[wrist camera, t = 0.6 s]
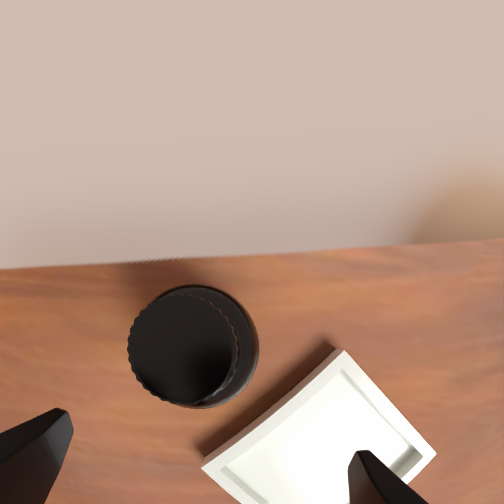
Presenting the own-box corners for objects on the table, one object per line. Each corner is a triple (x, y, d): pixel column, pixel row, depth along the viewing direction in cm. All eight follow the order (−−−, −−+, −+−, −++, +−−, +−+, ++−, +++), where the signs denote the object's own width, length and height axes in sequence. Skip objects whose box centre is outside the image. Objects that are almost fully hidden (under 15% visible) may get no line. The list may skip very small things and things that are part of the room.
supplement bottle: (273, 342, 24) (300, 354, 12) (211, 402, 23) (184, 460, 11) (211, 281, 25) (183, 237, 13) (150, 339, 24) (77, 343, 12)
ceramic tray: (310, 542, 19) (314, 554, 17) (204, 457, 21) (200, 467, 19) (424, 447, 22) (436, 453, 19) (335, 348, 24) (344, 350, 22)
